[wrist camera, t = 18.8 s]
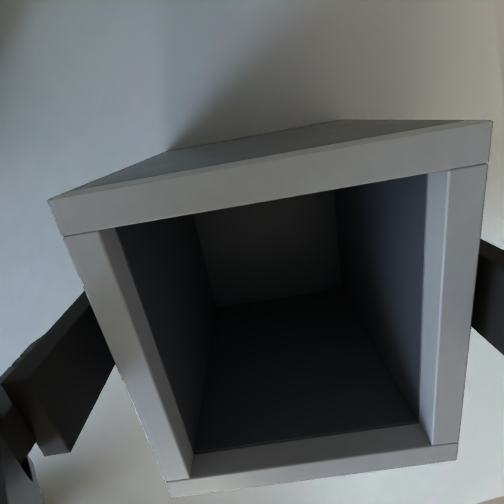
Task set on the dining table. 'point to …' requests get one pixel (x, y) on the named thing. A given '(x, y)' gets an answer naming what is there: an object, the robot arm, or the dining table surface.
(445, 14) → the dining table surface
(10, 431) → the robot arm
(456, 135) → the grey hollow box
